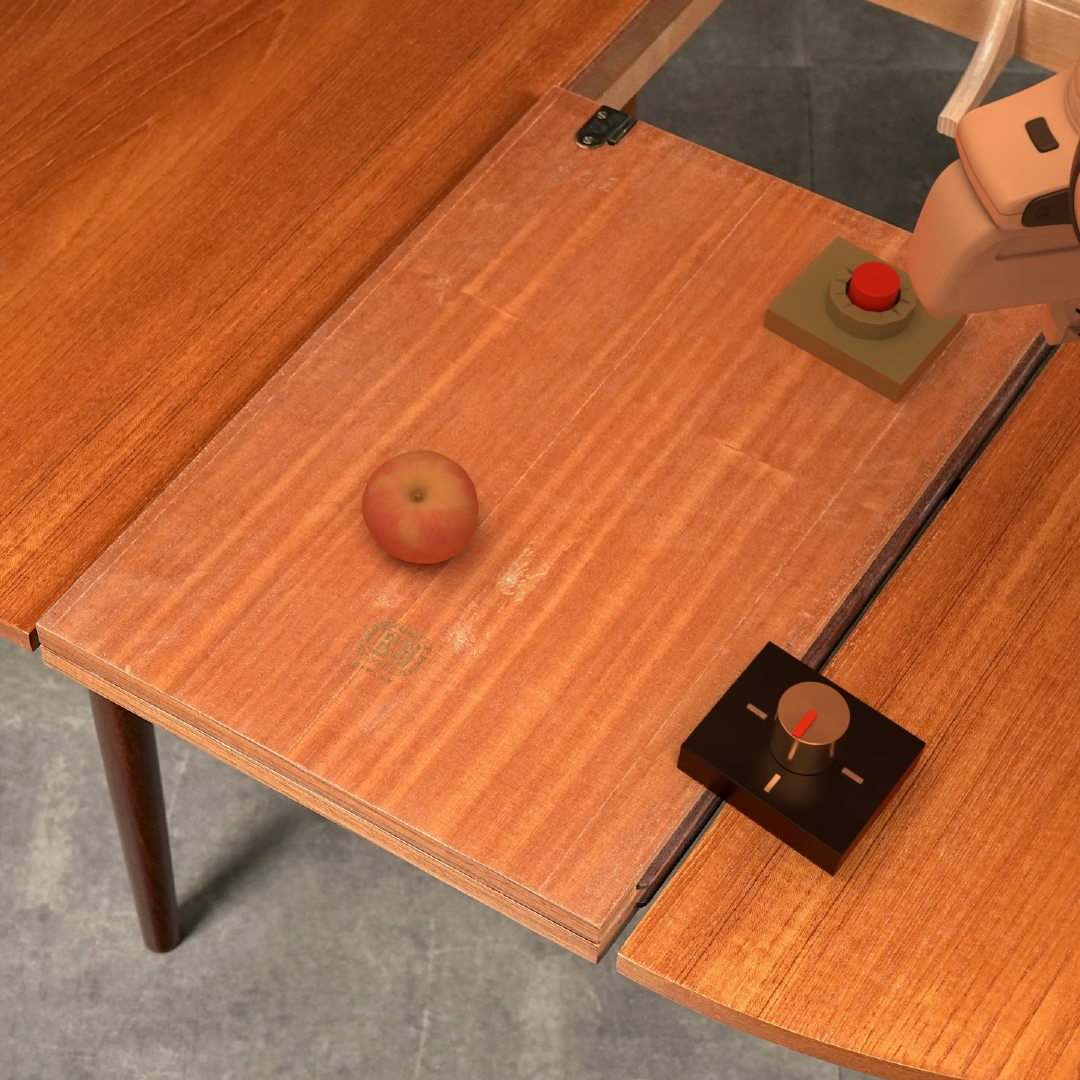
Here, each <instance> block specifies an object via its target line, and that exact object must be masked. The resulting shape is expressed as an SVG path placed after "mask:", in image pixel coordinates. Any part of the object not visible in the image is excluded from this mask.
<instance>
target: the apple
mask: <svg viewBox="0 0 1080 1080" xmlns="http://www.w3.org/2000/svg"><path fill="white" fill-rule="evenodd" d="M475 486H476V485H475V484H474V482H473V481H472V479H471V477H470V475H469V474H468V473H467V471H466V470H465V469H464V467H462V466H461V465H460V464H459V463H458V462H456V461H455V460H453V459H451V458H449V457H448V456H446V455H444V454H442V453H440V452H438V451H433V450H426V449H424V450H423V449H421V450H413V451H407V452H403V453H400V454H398V455H396V456H393V457H391V458H389V459H387V460H386V461H384V462H383V463H382V464H380V465H379V466H378V467H377V468H376V469H375V470H374V471H373V473H372V474H371V476H370V477H369V479H368V481H367V483H366V485H365V488H364V490H363V493H362V498H361V513H362V517H363V521H364V523H365V525H366V528H367V529H368V530H369V533H370V534H371V536H372V538H373V540H374V541H375V542H376V543H377V544H378V546H380V547H381V549H383V550H384V551H386V553H387V554H388V555H390V556H392V557H394V558H395V559H398V560H401V561H404V562H408V563H412V564H422V565H425V564H437V563H441V562H444V561H447V560H450V559H451V558H454V557H456V556H457V555H458V554H460V553H461V552H462V551H463V550H464V549H465V548H466V547H467V545H468V544H469V543H470V541H471V539H472V538H473V536H474V532H475V530H476V527H477V522H478V517H479V498H478V494H477V493H478V492H477V489H476V487H475Z"/></svg>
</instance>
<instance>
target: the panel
mask: <svg viewBox="0 0 1080 1080" xmlns="http://www.w3.org/2000/svg"><path fill="white" fill-rule="evenodd" d="M803 682H818V683H822V684H825V685H827V686H830V687H831V688H833V689H834V690H836V691H837V692H838V693H839V694H840V695H841V696H842V697H843V698H844V700H845V701H846V703H847V705H848V708H849V712H850V722H849V725H848V728H847V731H846V734H845V737H844V740H843V742H842V745H841V748H840V751H839V754H838V756H837V759H836V760H835V762H834V763H833V764H832V766H830V767H829V768H828V769H826V770H825V771H823V772H821V773H817V774H812V775H803V774H798V773H795V772H792V771H790V770H788V769H786V768H785V767H783V766H782V765H781V764H780V763H779V762H778V761H777V760H776V759H775V757H774V755H773V754H772V751H771V748H770V743H769V738H770V733H771V729H772V726H773V722H774V718H775V715H776V711H777V708H778V704H779V701H780V699H781V697H782V695H783V694H784V693H785V692H786V690H788V689H789V688H790V687H792V686H794V685H796V684H799V683H803ZM926 746H927V743H926V742H925V741H924V740H922V739H921V738H920V737H918V736H917V735H916V734H915V735H914V734H913V733H912V732H910V731H909V730H907V729H905V728H904V727H903V726H901V725H900V724H898V723H896V722H895V721H894V720H892V719H890V718H889V717H887V716H886V715H884V714H883V713H881V712H879V711H878V710H877V709H875V708H873V707H872V706H870V705H869V704H868V703H866V702H864V701H863V700H861V699H859V698H858V697H857V696H856V695H854V694H852V693H851V692H849V691H848V690H846V689H844V688H843V687H842V686H840V685H838V684H836V683H835V682H833V681H832V680H830V679H829V678H828V677H826V676H824V675H823V674H821V673H820V672H819V671H817V670H815V669H814V668H812V667H810V666H809V665H808V664H806V663H805V662H803V661H801V660H800V659H798V658H797V657H795V655H792V654H791V653H790V652H788V651H786V650H785V649H783V648H782V647H780V646H778V645H777V644H775V643H774V642H773V641H771V640H768V641H767V643H765V645H764V647H763V648H761V650H760V651H759V652H758V653H757V655H755V657H754V658H753V659H752V660H751V662H750V663H749V664H748V665H747V667H745V669H744V670H743V671H742V672H741V674H740V675H739V676H738V677H737V678H736V679H735V680H734V682H733V683H732V684H731V685H730V686H729V688H728V689H727V690H726V691H725V692H724V693H723V695H722V696H721V697H720V698H719V699H718V701H717V702H716V703H715V704H714V705H713V706H712V708H711V709H710V710H709V711H708V712H707V713H706V715H705V716H704V717H703V718H702V719H701V721H700V722H699V723H698V724H697V725H696V726H695V728H694V729H693V730H692V732H691V733H690V734H688V736H687V737H686V738H685V740H684V741H683V742H682V743H681V744H680V748H679V752H678V753H679V754H678V758H677V764H676V768H677V769H679V770H680V771H682V772H683V773H684V774H686V775H687V776H689V777H690V778H691V777H692V778H691V779H693V780H694V779H695V780H694V781H696V782H697V781H698V782H697V783H699V782H700V783H701V784H700V783H699V784H700V785H702V784H703V785H704V786H705V788H706V789H707V790H709V791H710V792H712V794H714V795H716V796H717V797H719V798H720V799H722V800H723V801H724V802H726V804H728V805H730V806H731V807H733V808H735V809H736V810H737V811H738V812H740V813H742V814H743V815H744V816H746V817H747V818H749V819H750V820H752V821H753V822H754V823H755V824H757V825H759V827H762V828H763V829H764V830H766V831H767V832H768V833H770V834H771V835H773V836H774V837H776V838H777V839H779V840H780V841H781V842H783V843H784V844H786V845H787V846H789V847H790V848H791V849H793V850H795V851H796V852H797V853H799V854H800V855H802V857H804V858H806V859H807V860H808V861H810V862H812V863H813V864H815V865H816V866H817V867H819V868H820V869H822V870H823V871H825V872H826V873H827V874H829V875H830V876H831V877H835V875H836V874H837V873H838V871H839V870H840V869H841V868H842V866H843V865H844V864H845V862H846V861H847V859H849V857H850V855H851V854H852V853H853V851H854V850H855V849H856V847H857V846H858V845H859V843H860V842H861V841H862V840H863V838H864V837H865V835H866V834H867V833H868V832H869V830H870V829H871V827H872V826H873V825H874V823H875V822H876V821H877V819H878V818H879V817H880V816H881V814H882V813H883V812H884V810H885V809H886V807H887V806H888V805H889V803H890V802H891V801H892V799H893V798H894V797H895V795H896V794H897V793H898V791H899V790H900V788H901V787H902V786H903V784H904V783H905V782H906V781H907V779H908V778H909V776H911V774H912V773H913V771H914V770H915V768H916V767H917V766H918V765H919V762H920V759H921V757H922V756H923V753H924V750H925V748H926ZM703 785H702V786H703ZM704 786H703V787H704Z"/></svg>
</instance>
